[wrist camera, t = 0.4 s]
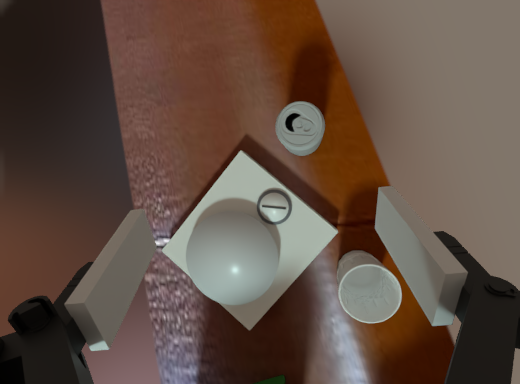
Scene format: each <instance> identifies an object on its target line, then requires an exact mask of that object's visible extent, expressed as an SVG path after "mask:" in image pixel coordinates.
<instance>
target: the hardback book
mask: <svg viewBox="0 0 520 384" xmlns="http://www.w3.org/2000/svg"><path fill="white" fill-rule="evenodd" d="M253 384H285V377H284V375H280V376H277V377H274V378H270V379H267V380H263V381H260V382H257V383H253Z"/></svg>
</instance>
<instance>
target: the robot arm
mask: <svg viewBox="0 0 520 384" xmlns="http://www.w3.org/2000/svg"><path fill="white" fill-rule="evenodd" d="M375 230H376V232H377V233H378V235H379V237H380V238H381V240H382V242H383V243H384V245H385V247H386V248H387V250H388V252H389V254H390V255H391V257H392V259H393V260H394V262H395V264H396V265H397V267H398V269H399V271H400V272H401V274H402V276H403V277H404V279H405V281H406V282H407V284H408V286H409V287H410V289H411V291H412V293H413V294H414V296H415V298H416V299H417V301H418V303H419V304H420V306H421V308H422V309H423V311H424V313H425V315H426V316H427V318H428V320H429V321H430V323H431V325H432V326H441V325H452V323H453V320H454V317H455V314H456V316H457V317H458V319H459V320H460V321H461V323H462V324H461V327H460V330H459V333H458V336H457V339H456V344H455V347H454V351H453V354H452V358H451V361H450V364H449V368H448V371H447V375H446V378H445V382H444V384H511V377H512V368H513V360H514V351H515V348H518V349H520V291H519V290H518V289H517V288H516V287H515V286H514V285H512V284H511V283H509V282H508V281H506V280H503V279H501V278H498V277H494V276H490V275H489V274H488V273H487V271H486V270H485V269H484V268H483V267H482V266H481V265H480V264H479V263H478V262H477V261H476V260H475V259H474V258H473V257H472V256H471V255H470V254H468V251H467V250H466V249H465V248H464V247H462V245H461V244H460V243H459V242H458V241H457V240H456V239H455V238H454V237H452V236H451V235H449V234H447V233H446V232H444V231H439V232H432V230H431V229H430V228H429V227H428V226H427V225H426V224H425V222H424V221H423V220H422V219H421V218H420V217H419V216H418V214H417V213H416V212H415V211H414V210H413V209H412V207H411V206H410V205H409V204H408V203H407V202H406V201H405V200H404V198H403V197H402V196H401V195H400V194H399V193H398V191H397V190H396V189H395V188H394V187H393V186H387V187H379V189H378V199H377V210H376V220H375ZM156 248H157V246H156V243H155V240H154V237H153V234H152V232H151V229H150V226H149V223H148V220H147V217H146V214H145V211H144V209H139V210H131V211H130V212H129V213H128V215H127V216H126V218H125V219H124V220H123V222H122V223H121V225H120V226H119V228H118V229H117V230H116V232H115V233H114V235H113V236H112V237H111V239H110V240H109V242H108V243H107V245H106V246H105V247H104V249H103V250H102V252H101V253H100V254H99V256H98V257H97V259H96V260H95V261H94V262H88V263H87V264H86V265H84V266H83V267H82V268H81V269H79V270H78V271H77V273H76V274H75V275H74V277H73V278H72V280H71V281H70V282H69V284H68V285H67V287H66V288H65V289H64V290H63V291H62V293H61V294H60V295H59V297H58V298H57V299H56V301H55V302H54V304H52V303H51V301H50V299H48V297H47V296H37V297H33V298H31V299H28V300H26V301H24V302H23V303H21V304H20V305H18V306H17V307H16V308H15V309H14V310H13V311H12V312H11V314H10V315H9V317H8V321H9V323H10V324H11V325H12V327H13V328H14V329H15V331H16V332H15V333H12V334H8V335H5V336H2V337H0V384H94V383H93V380H92V377H91V374H90V371H89V368H88V365H87V363H86V360H85V357H84V355H83V353H82V351H81V350H82V348H83V346H84V345H85V343H86V342H87V344H88V346H89V348H90V349H91V351H95V350H109V349H110V347H111V345H112V343H113V341H114V338H115V336H116V334H117V332H118V330H119V328H120V325H121V323H122V321H123V319H124V317H125V315H126V313H127V310H128V308H129V306H130V304H131V302H132V300H133V298H134V295H135V293H136V291H137V289H138V287H139V285H140V283H141V280H142V278H143V276H144V274H145V272H146V270H147V268H148V265H149V263H150V261H151V259H152V257H153V255H154V252H155V250H156Z"/></svg>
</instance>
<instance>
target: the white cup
mask: <svg viewBox="0 0 520 384" xmlns="http://www.w3.org/2000/svg"><path fill="white" fill-rule="evenodd" d="M337 284H338V293H339V299H340V302H341V305H342V307H343V308H344V310H345V311H346V312H347V313H348V314H349V315H350V316H351V317H353V318H354V319H356V320H358V321H361V322H365V323H378V322H382V321H385V320H387V319H388V318H390V317H391V316H392V315H393V314H394V313H395V312H396V311H397V310H398V308H399V306H400V303H401V298H402V292H401V287H400V284H399V282H398V280H397V279H396V277H395V276H394V275H393V274H392V273H391V272H390V271H389V270H388V269H387V268H386V267H385V266H384V265H383V264H382V263H381V262H380V261H379V260H378V259H376V258H375V257H373V255H372V254H369V253H367V252H365V251H363V250H353V251H351V252H348V253H346V254H344V255H343V257H342V258H341V259H340V261H339V262H338V267H337Z"/></svg>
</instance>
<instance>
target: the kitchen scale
mask: <svg viewBox="0 0 520 384" xmlns="http://www.w3.org/2000/svg"><path fill="white" fill-rule="evenodd" d="M337 233H338V230H337V228H336V227H334V226H333V225H332V224H331V223H330V222H328V221H327V220H326V219H325V218H324V217H322V216H321V215H320V214H319V213H318V212H316V211H315V210H314V209H313V208H312V207H310V206H309V205H308V204H307V203H306V202H304V201H303V200H302V199H301V198H300V197H298V196H297V195H296V194H295V193H294V192H292V191H291V190H290V189H289V188H288V187H286V186H285V185H284V184H283V183H282V182H280V181H279V180H278V179H277V178H276V177H274V176H273V175H272V174H271V173H270V172H268V171H267V170H266V169H265V168H264V167H262V166H261V165H260V164H259V163H258V162H256V161H255V160H254V159H253V158H252V157H250V156H249V155H248V154H247V153H246V152H244V151H241V150H240V152H239V153H238V154H237V156H236V157H235V158H234V159H233V161H232V162H231V163H230V164H229V166H228V167H227V168H226V170H225V171H224V172H223V173H222V175H221V176H220V177H219V178H218V180H217V181H216V182H215V184H214V185H213V186H212V187H211V189H210V190H209V191H208V192H207V194H206V195H205V196H204V197H203V199H202V200H201V201H200V203H199V204H198V205H197V206H196V208H195V209H194V210H193V211H192V213H191V214H190V215H189V217H188V218H187V219H186V220H185V222H184V223H183V224H182V225H181V227H180V228H179V229H178V231H177V232H176V233H175V234H174V236H173V237H172V238H171V239H170V241H169V242H168V243H167V245H166V246H165V247H164V248H163V250H162V252H163V253H165V254H166V255H167V256H168V257H169V258H170V259H171V260H172V261H173V262H174V263H176V264H177V265H178V266H179V267H180V268H181V269H182V270H183V271H184V272H185V273H187V274H188V275H189V276H190V277H191V278H192V280H193V282H194V284H195V285H196V286H197V287H198V289H199V290H200V291H201V292H202V293H203V294H205V295H206V296H207V297H209V298H210V299H212V300H214V301H216V302H218V303H219V304H221V305H222V306H223V307H224V308H225V309H226V310H227V311H228V312H229V313H230V314H232V315H233V316H234V317H235V318H236V319H237V320H238V321H239V322H240V323H241V324H243V325H244V326H245V327H246V328H247V329H248V330H249V331H250V330H251V329H252V328H253V327H254V325H255V324H256V323H257V322H258V321H259V320H260V319H261V318H262V317H263V315H264V314H265V313H266V312H267V311H268V310H269V309H270V308H271V306H272V305H273V304H274V303H275V302H276V301H277V300H278V299H279V298H280V296H281V295H282V294H283V293H284V292H285V291H286V290H287V289H288V287H289V286H290V285H291V284H292V283H293V282H294V281H295V280H296V279H297V277H298V276H299V275H300V274H301V273H302V272H303V271H304V270H305V268H306V267H307V266H308V265H309V264H310V263H311V262H312V261H313V260H314V258H315V257H316V256H317V255H318V254H319V253H320V252H321V251H322V249H323V248H324V247H325V246H326V245H327V244H328V243H329V242H330V241H331V239H332V238H333V237H334V236H335V235H336V234H337Z"/></svg>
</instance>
